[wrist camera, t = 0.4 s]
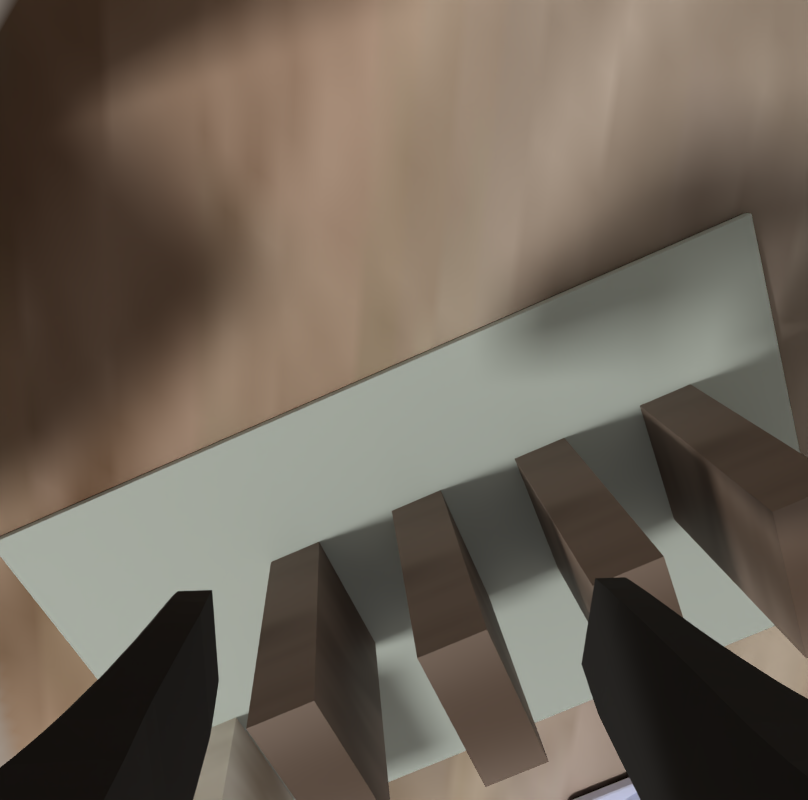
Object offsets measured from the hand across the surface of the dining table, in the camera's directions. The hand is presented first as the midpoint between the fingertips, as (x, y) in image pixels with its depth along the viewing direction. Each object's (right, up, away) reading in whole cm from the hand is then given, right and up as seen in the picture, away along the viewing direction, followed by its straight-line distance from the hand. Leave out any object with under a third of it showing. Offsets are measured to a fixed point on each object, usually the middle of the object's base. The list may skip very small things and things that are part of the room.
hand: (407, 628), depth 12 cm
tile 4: (-3, -3, +11) cm, 12 cm away
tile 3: (+1, -1, +11) cm, 11 cm away
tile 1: (+10, +2, +10) cm, 14 cm away
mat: (+2, -2, +11) cm, 12 cm away
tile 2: (+5, +1, +11) cm, 12 cm away
